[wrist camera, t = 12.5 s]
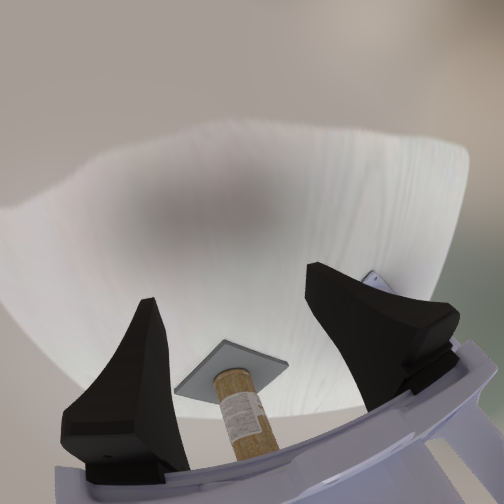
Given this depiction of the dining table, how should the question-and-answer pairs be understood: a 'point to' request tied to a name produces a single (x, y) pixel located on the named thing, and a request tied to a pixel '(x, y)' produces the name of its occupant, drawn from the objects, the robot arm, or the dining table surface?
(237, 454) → the sprinkles bottle
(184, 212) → the dining table surface
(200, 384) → the coaster
